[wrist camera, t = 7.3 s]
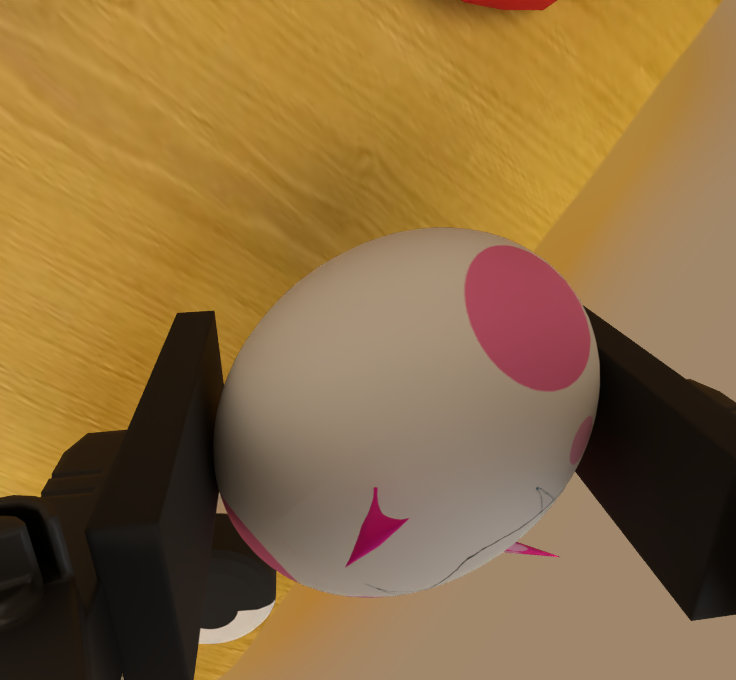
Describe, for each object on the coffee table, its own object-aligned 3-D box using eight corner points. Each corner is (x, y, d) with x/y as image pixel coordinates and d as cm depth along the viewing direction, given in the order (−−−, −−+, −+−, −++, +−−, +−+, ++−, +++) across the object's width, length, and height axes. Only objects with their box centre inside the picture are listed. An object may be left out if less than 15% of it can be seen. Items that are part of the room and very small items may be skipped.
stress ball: (888, 626, 7) (659, 388, 14) (476, 167, 5) (426, 130, 12) (446, 860, 10) (421, 562, 16) (32, 594, 8) (189, 371, 14)
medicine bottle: (153, 438, 37) (101, 587, 26) (257, 397, 37) (247, 529, 26) (206, 518, 40) (178, 681, 29) (302, 480, 40) (310, 630, 29)
